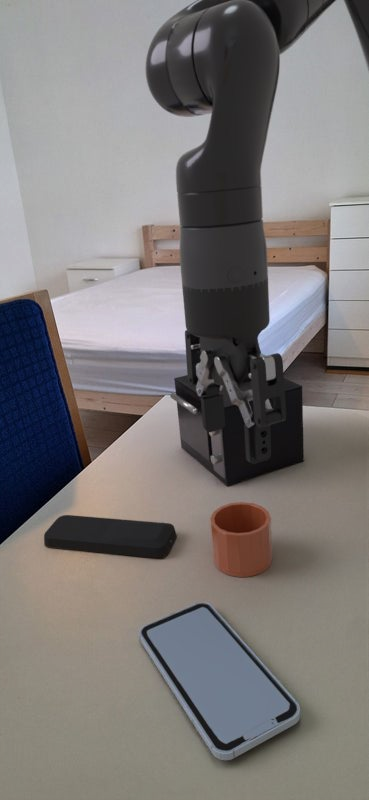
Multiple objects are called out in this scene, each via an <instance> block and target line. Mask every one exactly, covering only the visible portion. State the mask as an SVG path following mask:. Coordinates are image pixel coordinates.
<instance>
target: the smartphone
mask: <svg viewBox="0 0 369 800" xmlns="http://www.w3.org/2000/svg"><path fill="white" fill-rule="evenodd" d="M138 636H139V641H140V643H141V644H142V646H143V648H144V649H145V651H146V653H147V654H148V656H149V657H150V659H151V660H152V662H153V663H154V665H155V666H156V668H157V669H158V671H159V672H160V675H162V677H163V679H164V680H165V682H166V683H167V685H168V686H169V688H170V690H171V691H172V693H173V695H174V696H175V698H176V699H177V701H178V702H179V704H180V705H181V707H182V708H183V710H184V711H185V713H186V715H187V717H188V718H189V719H190V721H191V722H192V724H193V725H194V727H195V729H196V730H197V731H198V733H199V735H200V736H201V738H202V740H203V742H204V743H205V744H206V746H207V747H208V749H209V750H210V752H211V754H212V755H213V756H214V757H215V758H216V759H218V760H220V761H231V760H233V759H235V758H237V757H238V756H241V755H242V754H244V753H246V752H248V751H251V749H253V748H255V747H257V746H259V745H260V744H262V743H264V742H266V741H268V740H269V739H271V738H273V737H275V736H277V735H278V734H280V733H283V732H284V731H286V730H288V729H289V728H291V727H293V726H294V725H296V724H297V723H298V722H299V720H300V718H301V708H300V704H299V702H297V700H296V699H295V698H294V696H292V694H291V693H290V692H289V691H288V690H287V689H286V688H285V687H284V685H283V684H282V683H281V682H280V681H279V680H278V678H276V676H275V675H274V673H272V671H270V669H269V668H268V667H267V666H266V665H265V664H264V663H263V662H262V660H261V659H260V658H259V657H258V656H257V655H256V654H255V652H253V650H252V649H251V648H250V647H249V646H248V645H247V644H246V642H245V641H244V640H243V639H242V638H241V637H240V636H239V634H238V633H237V632H236V631H235V629H233V627H232V626H231V625H230V624H229V622H228V621H226V619H224V617H223V616H222V615H221V614H220V612H218V611H217V609H216V608H215V607H214V606H213V605H212V604H211V603H209V602H206V601H199V602H196V603H194V604H191V605H188V606H186V607H184V608H182V609H179V610H177V611H175V612H172V613H170V614H167V615H165V616H163V617H161V618H158V619H156V620H153V621H151V622H148V623H146V624H145V625H143V626H141V627H140V629H139V631H138Z"/></svg>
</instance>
